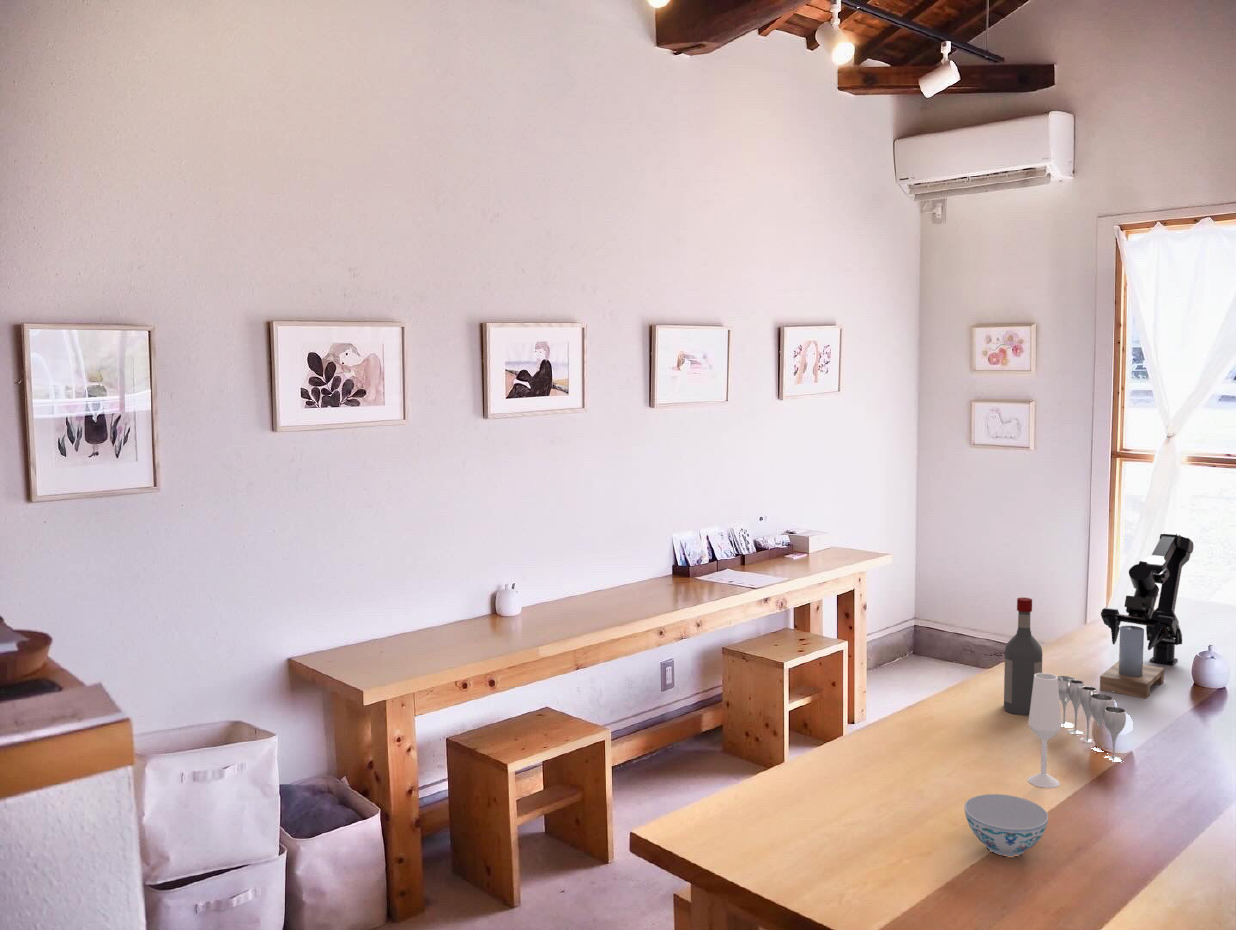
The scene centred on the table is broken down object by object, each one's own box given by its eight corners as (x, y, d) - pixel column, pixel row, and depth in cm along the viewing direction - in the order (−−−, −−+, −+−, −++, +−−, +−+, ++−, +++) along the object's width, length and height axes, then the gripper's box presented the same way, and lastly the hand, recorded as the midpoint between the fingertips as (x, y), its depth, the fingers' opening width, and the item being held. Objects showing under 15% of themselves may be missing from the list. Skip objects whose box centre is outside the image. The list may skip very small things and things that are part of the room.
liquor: (1003, 713, 269) (1005, 601, 266) (1004, 702, 278) (1006, 594, 274) (1041, 717, 266) (1043, 604, 263) (1040, 706, 274) (1043, 596, 271)
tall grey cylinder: (1116, 670, 291) (1117, 625, 289) (1139, 671, 289) (1140, 626, 288) (1121, 676, 285) (1123, 630, 283) (1145, 677, 283) (1146, 631, 282)
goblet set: (1130, 762, 236) (1132, 707, 234) (1106, 764, 235) (1108, 708, 234) (1069, 720, 264) (1070, 670, 262) (1047, 721, 263) (1048, 671, 262)
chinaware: (951, 833, 203) (951, 796, 202) (1023, 829, 204) (1024, 792, 203) (984, 871, 188) (985, 831, 187) (1062, 866, 189) (1063, 826, 189)
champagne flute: (1058, 777, 228) (1061, 672, 226) (1061, 789, 222) (1063, 682, 220) (1026, 774, 231) (1028, 670, 228) (1027, 786, 224) (1030, 679, 222)
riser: (1118, 674, 300) (1118, 660, 299) (1163, 681, 292) (1164, 668, 291) (1099, 689, 286) (1100, 676, 286) (1146, 698, 278) (1147, 684, 278)
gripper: (1103, 579, 294) (1089, 625, 287) (1175, 589, 281) (1161, 636, 275) (1112, 601, 301) (1098, 646, 294) (1182, 611, 288) (1169, 658, 281)
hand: (1130, 646), depth 286 cm, fingers open, 9 cm apart
